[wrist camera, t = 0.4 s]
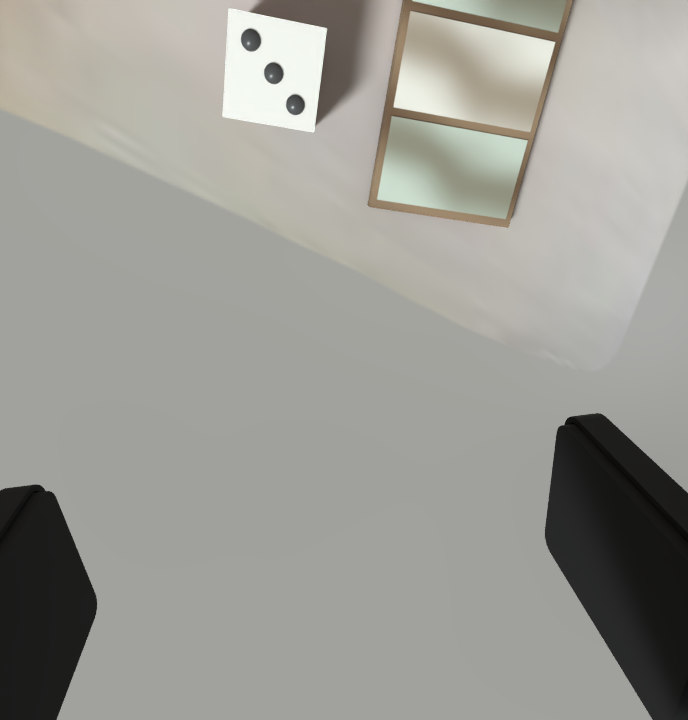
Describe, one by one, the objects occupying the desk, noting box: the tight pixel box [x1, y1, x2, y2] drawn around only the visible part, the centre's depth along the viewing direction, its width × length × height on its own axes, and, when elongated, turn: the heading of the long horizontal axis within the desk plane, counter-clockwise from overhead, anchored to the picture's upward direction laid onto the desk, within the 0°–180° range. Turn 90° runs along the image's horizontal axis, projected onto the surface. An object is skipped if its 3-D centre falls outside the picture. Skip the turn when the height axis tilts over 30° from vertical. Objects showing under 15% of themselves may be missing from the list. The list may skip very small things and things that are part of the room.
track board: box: [368, 0, 573, 228], centre depth 31 cm, size 23×10×1 cm, turn 171°
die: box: [223, 8, 327, 132], centre depth 29 cm, size 5×5×5 cm
